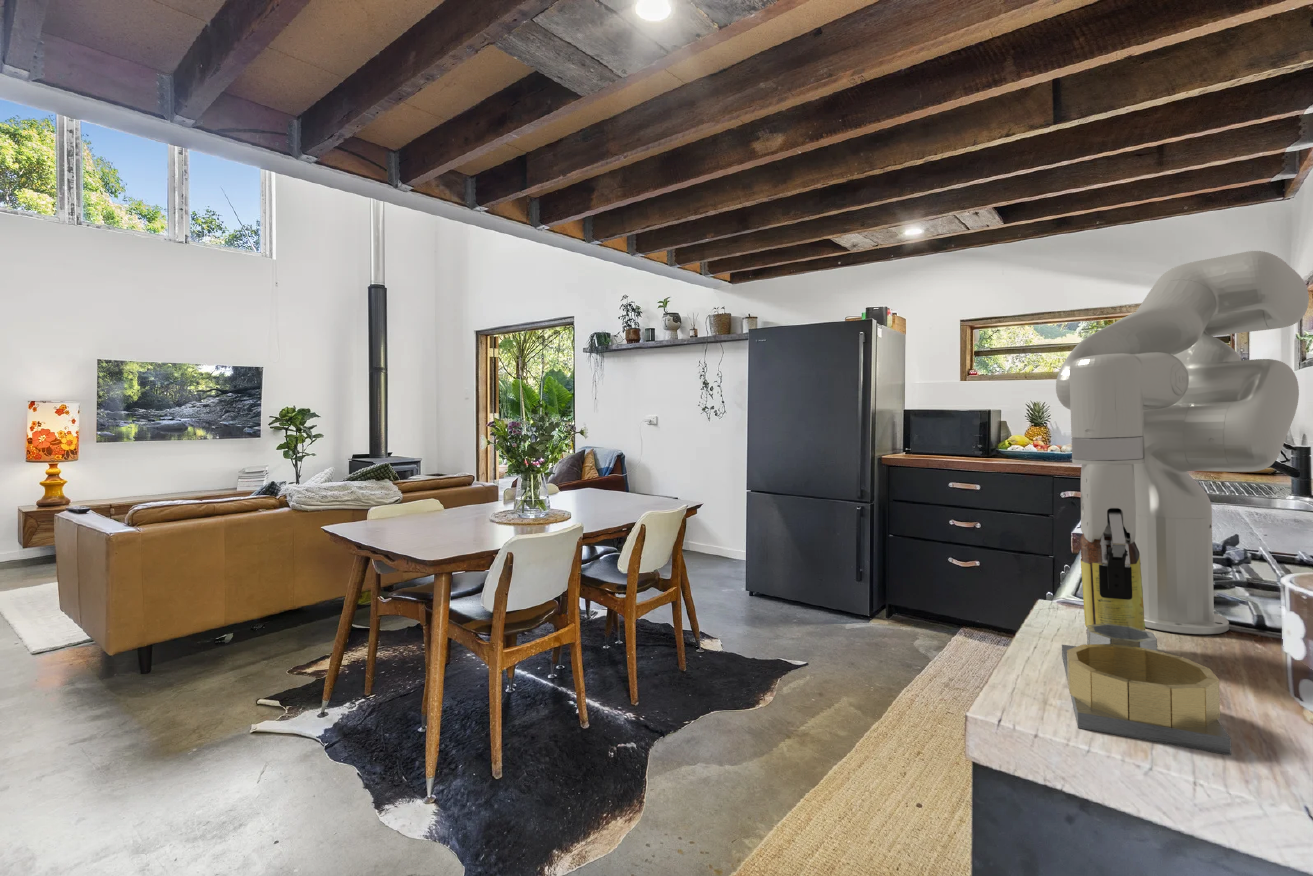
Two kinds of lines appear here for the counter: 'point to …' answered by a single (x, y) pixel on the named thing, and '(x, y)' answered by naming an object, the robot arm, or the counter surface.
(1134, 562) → the sauce bottle
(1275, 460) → the robot arm
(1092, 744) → the counter surface
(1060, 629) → the counter surface
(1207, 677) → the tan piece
